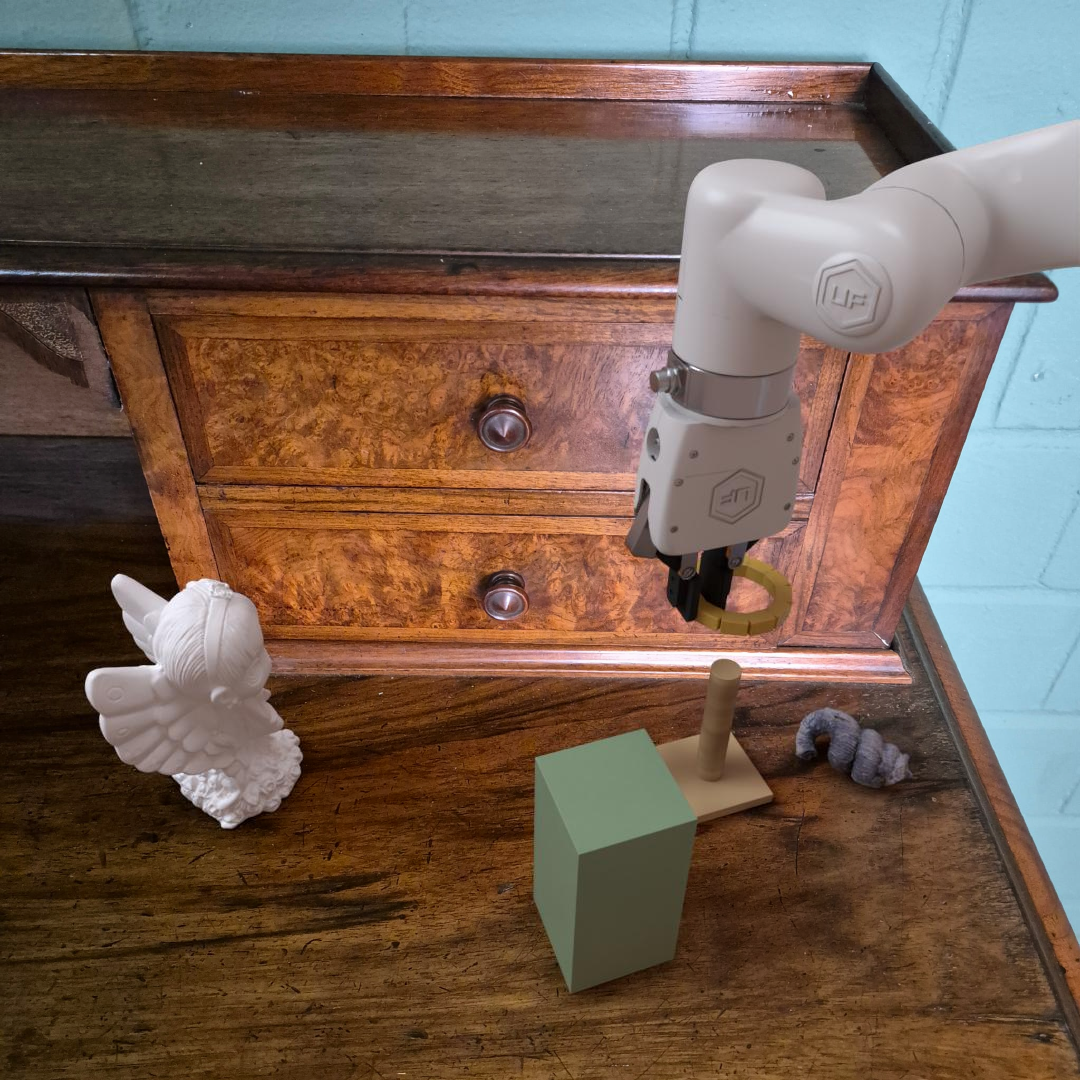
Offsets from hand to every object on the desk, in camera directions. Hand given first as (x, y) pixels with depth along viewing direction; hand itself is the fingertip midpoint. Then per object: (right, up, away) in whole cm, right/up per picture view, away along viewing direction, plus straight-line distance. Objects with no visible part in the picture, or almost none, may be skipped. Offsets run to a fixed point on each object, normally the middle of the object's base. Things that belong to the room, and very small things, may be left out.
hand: (696, 605), depth 69 cm
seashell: (+16, -15, +14) cm, 26 cm away
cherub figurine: (-38, -16, +12) cm, 43 cm away
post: (+3, -16, +13) cm, 21 cm away
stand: (-7, -24, +1) cm, 25 cm away
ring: (+3, 0, +1) cm, 3 cm away
